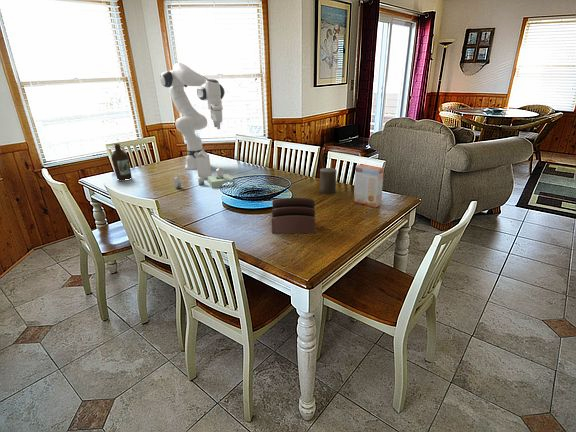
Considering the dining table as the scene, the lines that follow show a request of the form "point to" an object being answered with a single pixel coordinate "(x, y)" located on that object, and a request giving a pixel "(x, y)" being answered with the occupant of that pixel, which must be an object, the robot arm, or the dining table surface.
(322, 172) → the pillar candle
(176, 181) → the medium pin
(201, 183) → the short pin
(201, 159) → the milk carton
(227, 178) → the socket block
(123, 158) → the olive oil
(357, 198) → the cracker box
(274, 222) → the letter holder
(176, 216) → the dining table surface
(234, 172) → the dining table surface
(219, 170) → the tall pin
